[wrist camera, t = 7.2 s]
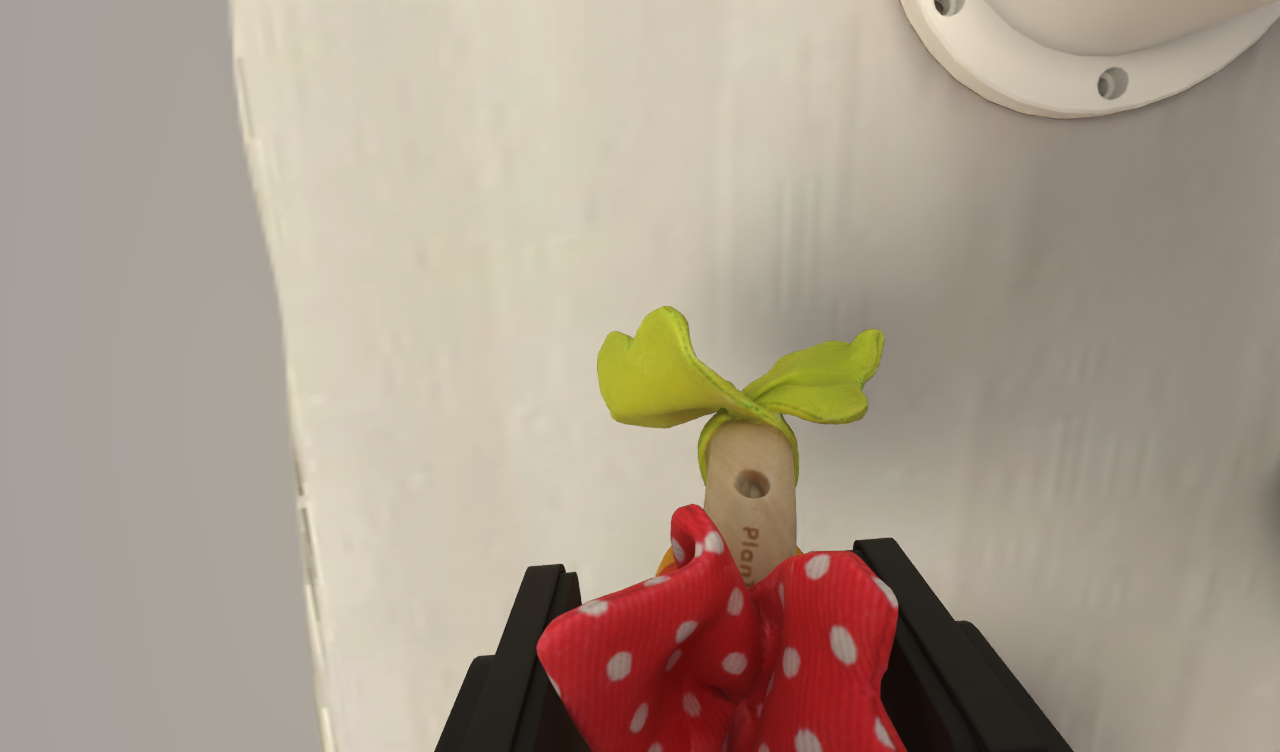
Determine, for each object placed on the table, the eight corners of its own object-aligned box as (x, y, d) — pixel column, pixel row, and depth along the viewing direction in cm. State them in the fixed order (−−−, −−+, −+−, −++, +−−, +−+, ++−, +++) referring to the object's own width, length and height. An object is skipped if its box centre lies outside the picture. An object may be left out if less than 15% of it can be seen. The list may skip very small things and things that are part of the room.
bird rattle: (833, 495, 19) (882, 214, 13) (989, 1039, 10) (1356, 949, 4) (625, 505, 19) (580, 238, 13) (608, 1037, 10) (459, 950, 5)
